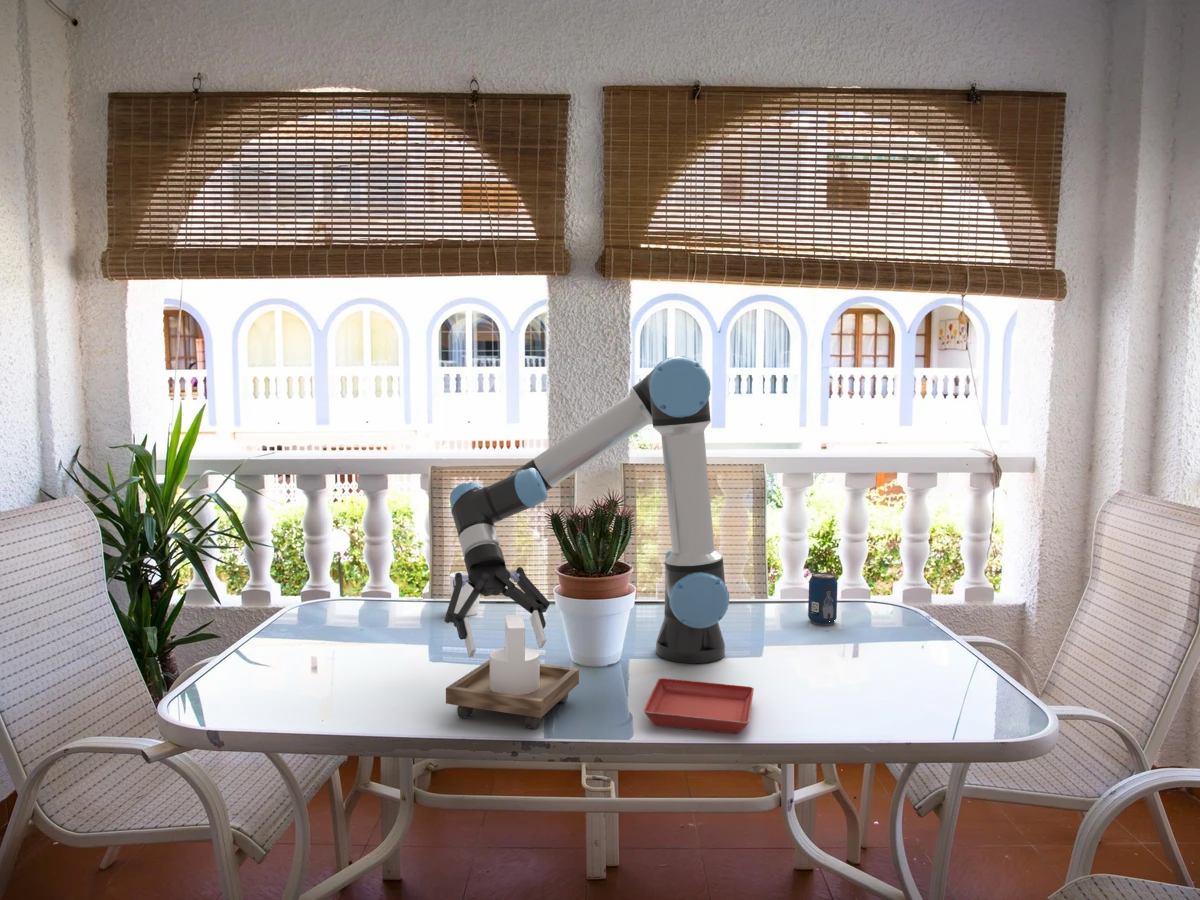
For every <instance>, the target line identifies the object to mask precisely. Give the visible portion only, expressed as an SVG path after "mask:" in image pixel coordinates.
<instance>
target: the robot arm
mask: <svg viewBox="0 0 1200 900" xmlns="http://www.w3.org/2000/svg"><path fill="white" fill-rule="evenodd" d="M711 386H712V385H711V380H710V377H709V374H708V373H707V370H706V369H705V368H704V366H703V365H701V364H700V362H698V361H697V360H695V359H694V358H691V357H688V356H685V355H682V356H677V355H675V356H672V357H667V358H665V359H663V360H662V361H660V362H659V363H657V364H656V366H655V367H654V368H653V369H652V370H651V371H650V372H649V373H648V374H647V375H646V376H645V377H643V379H641V381H639V382H638V383H635V385H633V386H631V388H630V390H629V394H628V395H626V396H625V397H623V398H622V399H621V400H619V401H618V402H616V403H615V404H613V405H612V406H609V407H608V408H607V409H606V410H604V411H603V412H602V413H600V414H598V415H597V416H595V417H593V418H592V419H591V420H589V421H588V422H586V423H585V424H584V425H581V426H580V427H579V428H577V429H575V430H574V431H573V432H572V433H570V434H568V435H567V436H565V437H564V438H562V439H561V440H559V441H557V442H556V443H555V444H554V445H552V446H550V447H549V448H547V449H545V451H543V452H541V453H539V454H538V455H537V456H535V457H534V458H533V459H531V460H529V461H528V462H526V463H525V464H523V465H522V466H520V467H518V468H517V469H515V470H513V471H512V472H511V473H510V474H509V475H508V476H507V477H505V478H502V479H501V480H499V481H497V482H494V483H492V484H491V485H487V486H483V485H482V484H481V483H479V482H476V481H470V482H468V483H467V482H463V483H461V484H460V483H459V485H457V486H455V487H454V488H453V489H452V491H450V495H449V502H450V508H451V511H450V512H451V515H452V518H453V521H454V525H455V529H456V533H457V535H458V540H459V544H460V548H461V551H462V556H463V560H464V564H465V569H466V571H467V573H468V575H462V574H461V573H459V572H460V571H457V572H458V573H456V575H455V577H454V580H453V587H454V590H453V594H452V597H451V596H450V599H449V604H448V607H447V610H446V614H445V617H444V620H443V621H444V623H446V624H451V623H452V624H453V626H454V627H455V628H456V631H457V636H458V638H459V639H460V640H464V643H465V647H466V652H467V655H468V658H473V657H474V655H475V654H476V650H477V648H476V643H475V640H474V636H473V632H472V627H471V624H470V619H469V617H467V616H466V615H467V613H468V611H469V610H470V608H471V607H472V605H473V603H474V602H475V600H476V599H477V598H478V596H479V594H480V596H483V597H489V596H500V595H501V594H502V595H503V596H505V597H506V598H510V599H511V600H512V601H513V602H515V603H516V604H517V605H518V606H520V607H522V608H523V609H524V610H526V611H527V612H528V613H530V614H531V615H530V617H529V619H530V622H531V626H532V629H533V630H532V631H533V633H534V636H535V640H536V644H537V647H538V649H540V648H542V649H543V647H544V646H545V644H546V642H547V637H546V633H545V631H544V630H545V627H546V624H547V623H546V619H545V615H544V613H546V612H547V610H548V608H549V607H550V605H551V604H550V601H549V600H548V599H547V598H546V597H545V596H544V594H543V593H542V592H541V591H540V590H539V589H538V588H537V586H535V584H533V582H532V581H531V580H530V579H529V577H527V575H526V573H525V571H524V568H523V567H521V566H519V567H517V568H516V570H512V571H509V569H508V568H507V566H506V561H505V557H504V554H503V551H502V548H501V543H500V540H499V536H498V534H497V533H498V532H497V529H496V527H495V524H496V523H498V522H500V521H503V520H505V519H507V518H510V517H512V516H514V515H516V514H519V513H522V512H524V511H526V510H528V509H531V508H532V509H533V508H535V507H536V506H538V505H539V504H542V503H543V502H545V501H547V499H548V497H549V496H548V491H550V490H551V489H552V488H554V487H555V486H556V485H558V484H560V483H561V482H563V481H565V480H566V479H567V478H569V477H570V476H572V475H573V474H575V473H576V472H578V471H580V470H581V469H583V468H584V467H585V466H587V465H588V464H590V463H591V462H594V461H595V460H596V459H598V458H599V457H600V456H602V455H603V454H606V453H607V452H608V451H610V450H611V449H613V448H614V447H616V446H618V445H619V444H620V443H622V442H624V441H625V440H626V439H628V438H629V437H631V436H633V435H634V434H636V433H637V432H639V431H640V430H642V429H643V428H645V427H646V426H648V425H652V427H653V429H654V430H655V431H657V432H658V433H659V435H661V448H662V455H663V458H662V459H663V467H664V478H665V479H664V480H665V487H666V488H665V490H666V500H667V510H668V521H669V522H668V523H669V530H670V531H669V533H670V540H671V541H670V543H671V549H670V550H668V551H667V552H666V553H665V560H664V562H663V564H664V566H665V568H664V569H665V570H664V573H665V574H664V618H663V620H662V621H663V622H662V624H661V626H660V630H659V633H658V635H657V638H656V641H655V653H656V654H657V655H658V656H659V657H661V658H662V659H664V660H668V661H671V662H677V663H682V664H706V663H712V662H717V661H719V660H721V659H723V658H724V657H725V655H726V645H725V641H724V636H723V634H722V631H721V627H720V624H719V622H720V621H721V620H722V619H723V617H724V616H725V615H726V613H727V612H728V608H729V605H730V592H729V590H728V586H727V585H726V577H725V567H724V558H723V557H724V555H723V554H722V553H721V552H719V550H717V549H716V548H715V539H714V529H713V528H714V527H713V518H712V508H711V507H712V506H711V496H710V484H709V474H708V473H709V472H708V463H707V462H708V461H707V451H706V438H705V430H706V429H707V427H708V426H709V424H711V422H712V421H711V420H712V419H711V411H710V399H709V398H710V395H711V390H712V389H711V388H712V387H711ZM512 580H513V581H512ZM466 582H468V584H469V585H470V586H472V587H473V588H474V589H473V591H472V592H471V594H470V596H469V597H468V599H467V600H466V602H465V603H464V605H463V606H462V608H461V610H460V611H459V613H458V614H456V613H454V611H455V608H456V604H457V601H458V598H459V594H460V591H461V588H462V587H464V585H465V583H466ZM515 583H516V584H517V585H518V587H517V586H516V584H515Z"/></svg>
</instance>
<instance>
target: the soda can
mask: <svg viewBox="0 0 1200 900" xmlns="http://www.w3.org/2000/svg"><path fill="white" fill-rule="evenodd" d="M838 584H839V583H838V581H837V578H836V575H835V574H833V573H831V572H830V573H829V572H813V573H811V577H810V578H809V580H808V599H807V601H808V604H807V606H808V607H807V617H808V619H809V621H810V622H811V623H812V624H814V625H820V626H831V625H834V623H835V622H836V620H837V617H838V614H837V613H838V609H837V608H838ZM834 620H835V621H834ZM829 621H830V622H829Z"/></svg>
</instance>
